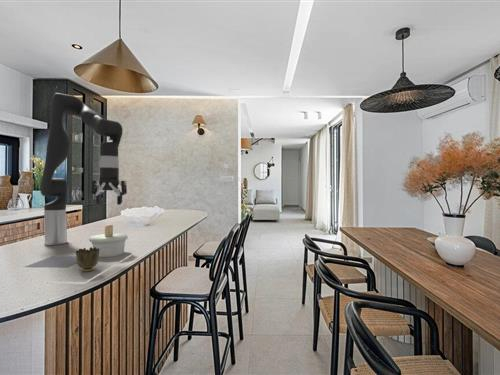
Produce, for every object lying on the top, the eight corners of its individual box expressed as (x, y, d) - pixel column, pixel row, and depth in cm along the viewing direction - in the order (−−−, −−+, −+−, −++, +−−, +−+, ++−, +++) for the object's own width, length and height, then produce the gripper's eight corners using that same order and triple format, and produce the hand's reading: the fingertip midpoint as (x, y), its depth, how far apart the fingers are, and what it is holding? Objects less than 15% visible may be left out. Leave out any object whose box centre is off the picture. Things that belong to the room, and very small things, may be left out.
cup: (75, 276, 101) (74, 252, 101) (76, 270, 108) (76, 248, 108) (99, 273, 105) (99, 250, 105) (99, 267, 111) (99, 246, 111)
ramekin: (90, 260, 122) (90, 243, 122) (92, 253, 134) (92, 237, 134) (126, 257, 127) (126, 240, 127) (125, 250, 139) (125, 235, 139)
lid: (100, 235, 138) (100, 222, 138) (132, 236, 138) (132, 222, 138) (81, 242, 123) (81, 227, 123) (118, 243, 123) (118, 227, 123)
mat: (53, 257, 126) (53, 255, 126) (91, 257, 126) (91, 256, 126) (24, 268, 110) (24, 266, 110) (67, 269, 110) (67, 267, 110)
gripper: (129, 167, 133) (129, 204, 134) (97, 167, 133) (97, 203, 134) (122, 166, 126) (121, 205, 126) (88, 166, 126) (88, 205, 126)
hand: (109, 204), depth 130 cm, fingers open, 8 cm apart
